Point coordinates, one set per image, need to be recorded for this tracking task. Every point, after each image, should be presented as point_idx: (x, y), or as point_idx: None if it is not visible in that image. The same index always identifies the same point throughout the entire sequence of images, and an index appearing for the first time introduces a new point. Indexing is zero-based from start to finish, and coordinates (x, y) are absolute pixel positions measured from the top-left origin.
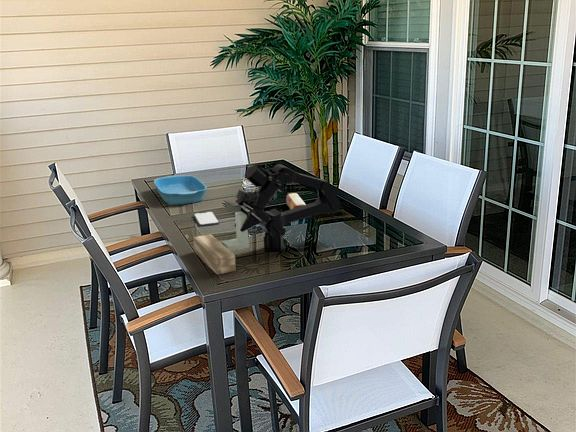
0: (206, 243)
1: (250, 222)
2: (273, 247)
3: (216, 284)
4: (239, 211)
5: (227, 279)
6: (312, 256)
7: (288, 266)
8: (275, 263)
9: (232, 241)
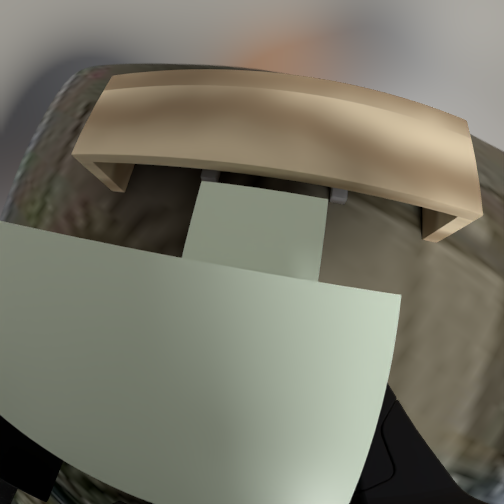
0: (339, 105)
1: None
2: None
3: (91, 100)
4: (459, 496)
5: None
6: (59, 500)
7: None
8: None
9: (269, 259)
